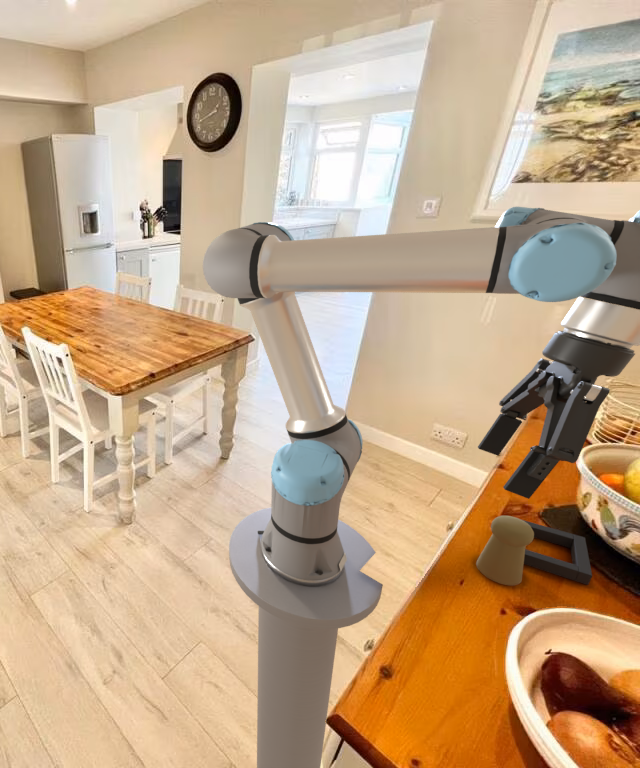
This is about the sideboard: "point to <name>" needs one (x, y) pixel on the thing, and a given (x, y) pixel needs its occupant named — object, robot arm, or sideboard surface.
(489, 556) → the cork
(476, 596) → the sideboard surface
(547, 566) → the dock pad
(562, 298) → the robot arm
